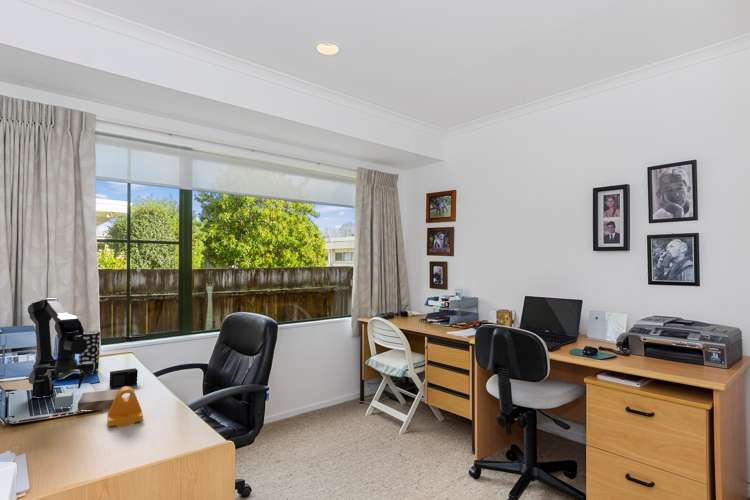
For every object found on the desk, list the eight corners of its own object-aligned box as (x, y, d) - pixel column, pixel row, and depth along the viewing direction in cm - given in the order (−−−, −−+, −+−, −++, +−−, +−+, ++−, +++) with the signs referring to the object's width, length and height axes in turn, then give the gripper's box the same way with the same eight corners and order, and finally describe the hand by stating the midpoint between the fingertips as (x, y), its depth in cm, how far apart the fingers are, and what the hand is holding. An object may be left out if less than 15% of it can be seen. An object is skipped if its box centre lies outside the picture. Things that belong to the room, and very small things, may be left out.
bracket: (107, 428, 147) (109, 394, 148) (107, 421, 153) (108, 388, 154) (142, 422, 153) (144, 389, 154) (140, 416, 159) (142, 384, 160)
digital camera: (111, 389, 187) (112, 374, 188) (109, 386, 191) (109, 371, 192) (137, 385, 194) (138, 370, 195) (134, 382, 198) (135, 367, 199)
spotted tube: (101, 372, 212) (103, 332, 212) (82, 376, 205) (84, 335, 205) (93, 369, 217) (95, 330, 217) (74, 373, 210) (76, 332, 210)
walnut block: (77, 413, 160) (77, 403, 161) (82, 402, 172) (83, 392, 172) (117, 409, 166) (117, 398, 167) (119, 398, 178) (120, 389, 178)
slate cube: (54, 410, 162) (55, 397, 162) (57, 406, 167) (58, 393, 167) (70, 408, 164) (71, 395, 165) (72, 404, 169) (73, 391, 169)
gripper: (31, 356, 154) (29, 399, 154) (92, 352, 163) (90, 393, 163) (38, 349, 164) (36, 390, 164) (96, 346, 173) (94, 385, 173)
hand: (64, 389), depth 166 cm, fingers open, 9 cm apart
